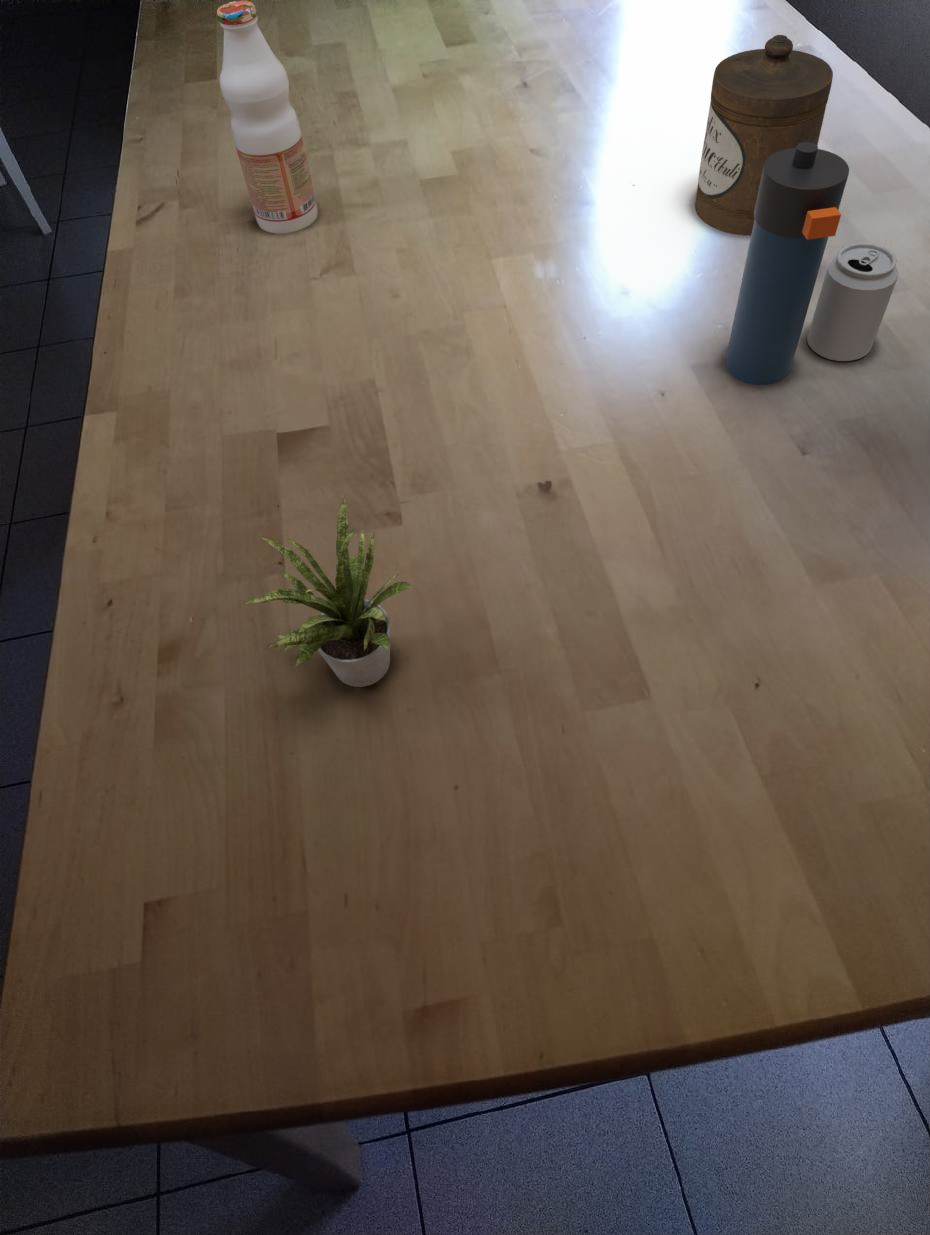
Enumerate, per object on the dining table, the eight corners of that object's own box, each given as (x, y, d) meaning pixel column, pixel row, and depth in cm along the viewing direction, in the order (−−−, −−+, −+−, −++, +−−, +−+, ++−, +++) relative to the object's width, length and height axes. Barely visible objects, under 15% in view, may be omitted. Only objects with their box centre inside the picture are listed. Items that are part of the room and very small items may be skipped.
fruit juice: (265, 244, 128) (205, 29, 105) (252, 213, 133) (192, 2, 111) (326, 227, 129) (280, 12, 107) (310, 198, 135) (263, -13, 112)
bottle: (801, 384, 102) (867, 165, 81) (734, 394, 102) (783, 177, 81) (778, 343, 106) (835, 126, 86) (714, 352, 106) (755, 136, 86)
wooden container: (688, 186, 129) (711, 17, 111) (790, 181, 128) (831, 9, 110) (700, 242, 120) (727, 68, 102) (810, 237, 119) (857, 60, 101)
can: (792, 347, 106) (817, 257, 96) (830, 320, 108) (858, 229, 98) (844, 375, 102) (876, 284, 92) (883, 347, 104) (918, 255, 95)
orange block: (835, 236, 84) (841, 214, 82) (806, 240, 84) (812, 218, 82) (829, 228, 84) (836, 206, 83) (801, 232, 84) (807, 210, 83)
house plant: (289, 604, 88) (245, 491, 75) (425, 590, 88) (404, 475, 74) (282, 728, 80) (230, 625, 66) (431, 713, 79) (409, 607, 66)
